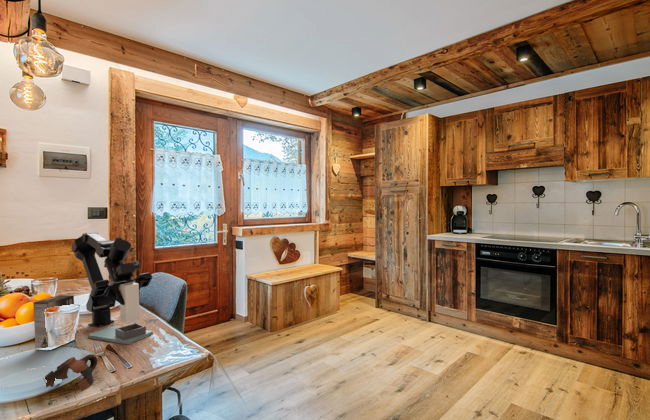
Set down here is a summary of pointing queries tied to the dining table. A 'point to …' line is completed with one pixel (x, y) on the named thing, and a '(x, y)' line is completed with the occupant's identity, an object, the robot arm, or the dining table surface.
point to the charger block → (129, 302)
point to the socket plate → (113, 338)
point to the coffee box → (39, 316)
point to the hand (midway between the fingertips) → (131, 302)
